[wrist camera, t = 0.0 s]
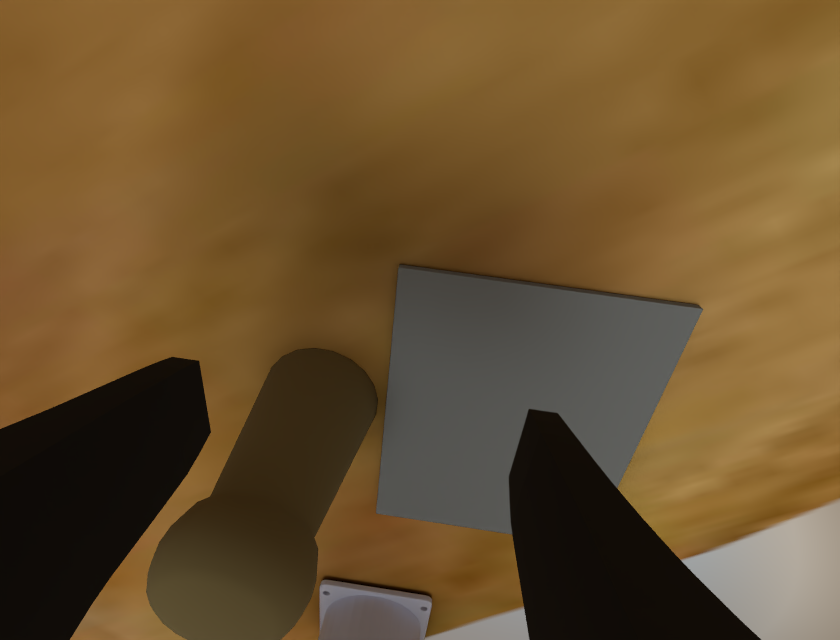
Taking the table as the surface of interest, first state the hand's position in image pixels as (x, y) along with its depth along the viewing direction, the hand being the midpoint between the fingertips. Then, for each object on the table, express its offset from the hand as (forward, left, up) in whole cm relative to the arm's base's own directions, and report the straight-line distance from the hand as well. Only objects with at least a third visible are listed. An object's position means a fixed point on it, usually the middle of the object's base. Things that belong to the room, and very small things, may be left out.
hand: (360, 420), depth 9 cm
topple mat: (-8, -6, -10) cm, 14 cm away
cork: (-8, +4, -10) cm, 14 cm away
